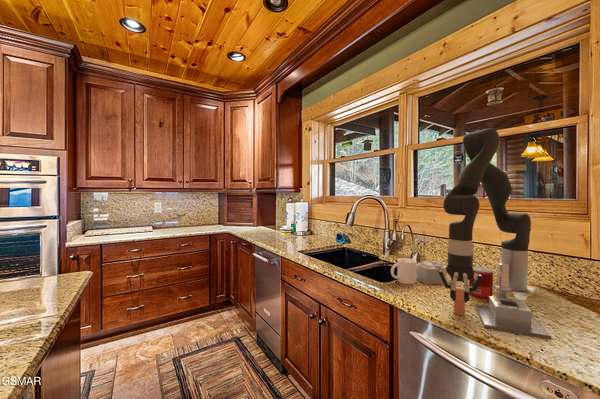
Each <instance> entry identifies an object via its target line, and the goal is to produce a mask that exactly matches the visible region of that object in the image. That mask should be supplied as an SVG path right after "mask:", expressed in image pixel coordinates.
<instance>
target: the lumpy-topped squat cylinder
mask: <svg viewBox="0 0 600 399" xmlns="http://www.w3.org/2000/svg"><path fill="white" fill-rule="evenodd" d="M446 267H447V265H446V264H443V263H442V262H438V261H430V260H423V261H422V262H419V263H416V281H417V280H418V281H420V282H422V283H423V284H426V285H441V284H443V281H442V279H441V277H440V275H439V272H438V271H439V270H445V269H446ZM445 278H446V279H447V275H446V276H445Z"/></svg>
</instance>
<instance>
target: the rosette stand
mask: <svg viewBox="0 0 600 399" xmlns="http://www.w3.org/2000/svg"><path fill="white" fill-rule="evenodd" d="M496 264H497V265H496V284H495V283H494V284H493V289H495V290H496V296H493V295H492V296H489V299H488V301H489V302H488V305H483V304H482V305H480V304H475V306H474V307H475V309H476V312H477V314H478V316H479V319H480V320H481V322H482V324H483V326H484V329H491V330H495V331H501V332H507V333H511V334H512V333H513V334H518V335H524V336H530V337H534V338H535V337H536V338H539V339H540V338H541V339H545V340H546V339H547V340H552V335H551V334H550V332H548V330H546V328H545V327H544V326H543V325H542V324H541V322H539V320H537V318H536V317H535V316H534V314H533V311H532V310H531V309H530V308H529V307H528V306H527V305H526V304H525V303H524V302H523V300H520V299H513V298H512V299H511V298H509V292H511V291H512V290H511V287H509V286H508V272H509V265H508V264H506V263H501V262H497V263H496Z"/></svg>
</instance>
